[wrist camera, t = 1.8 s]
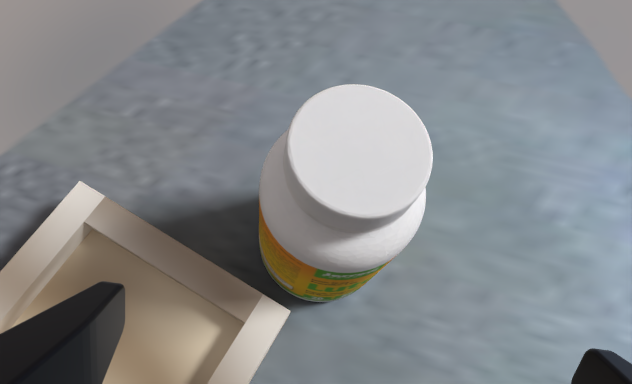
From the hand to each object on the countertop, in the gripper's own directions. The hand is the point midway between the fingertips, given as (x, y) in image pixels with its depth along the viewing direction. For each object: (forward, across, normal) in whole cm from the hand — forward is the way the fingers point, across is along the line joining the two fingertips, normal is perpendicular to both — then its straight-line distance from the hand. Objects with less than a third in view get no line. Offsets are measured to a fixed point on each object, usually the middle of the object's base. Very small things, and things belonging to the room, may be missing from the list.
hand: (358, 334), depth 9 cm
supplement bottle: (+12, 0, +5) cm, 13 cm away
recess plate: (+7, +8, +9) cm, 14 cm away
